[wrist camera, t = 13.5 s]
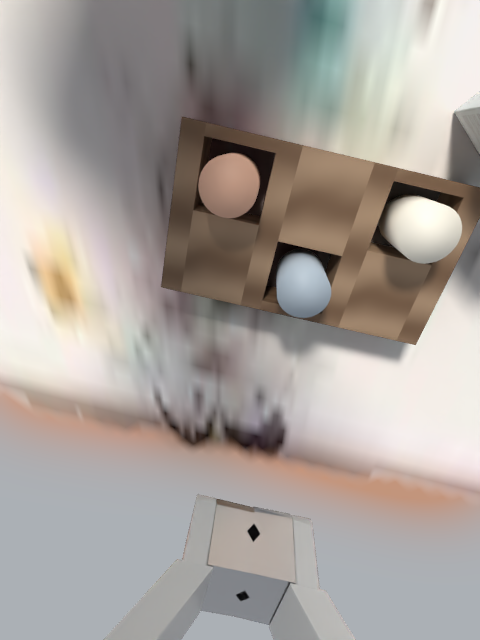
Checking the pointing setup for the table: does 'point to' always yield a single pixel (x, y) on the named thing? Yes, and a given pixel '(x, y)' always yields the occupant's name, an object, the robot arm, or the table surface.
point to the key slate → (302, 284)
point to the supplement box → (471, 119)
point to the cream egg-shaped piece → (420, 228)
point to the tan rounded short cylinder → (229, 184)
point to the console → (309, 234)
